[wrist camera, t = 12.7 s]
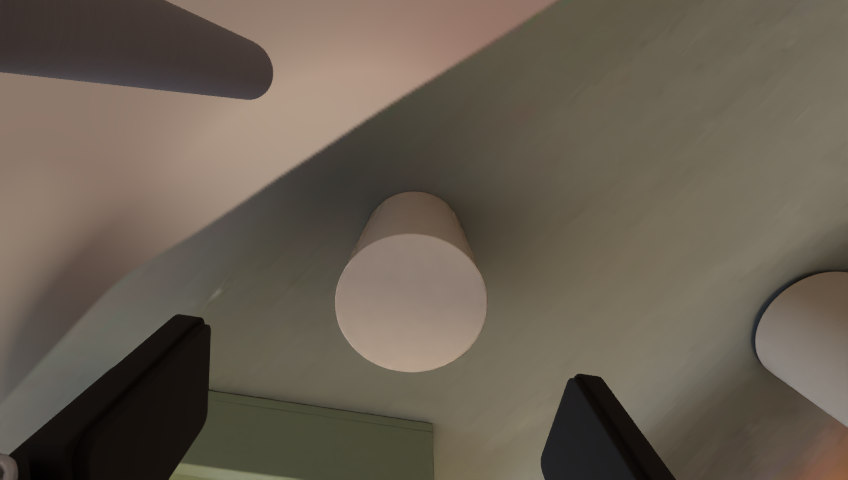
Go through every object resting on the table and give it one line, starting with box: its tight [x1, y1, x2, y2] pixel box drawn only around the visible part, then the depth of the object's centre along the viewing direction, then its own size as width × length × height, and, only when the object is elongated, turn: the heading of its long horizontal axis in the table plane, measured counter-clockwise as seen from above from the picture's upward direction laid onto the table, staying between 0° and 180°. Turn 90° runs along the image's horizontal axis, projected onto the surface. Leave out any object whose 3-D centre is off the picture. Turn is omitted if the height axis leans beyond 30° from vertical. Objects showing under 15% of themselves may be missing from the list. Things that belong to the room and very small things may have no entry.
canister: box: [335, 191, 488, 372], centre depth 20 cm, size 6×6×9 cm
